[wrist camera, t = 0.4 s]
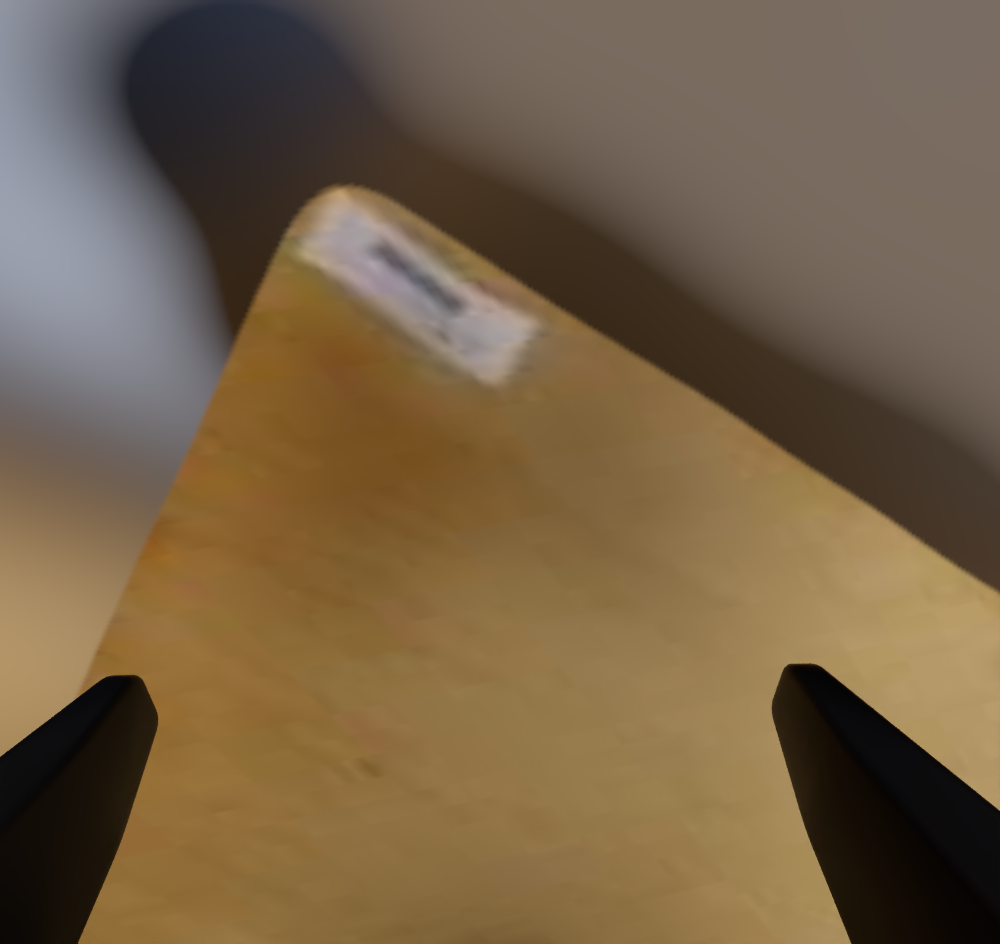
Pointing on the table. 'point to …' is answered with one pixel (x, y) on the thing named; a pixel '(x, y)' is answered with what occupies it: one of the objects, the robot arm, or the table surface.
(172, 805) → the table surface
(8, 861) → the robot arm
